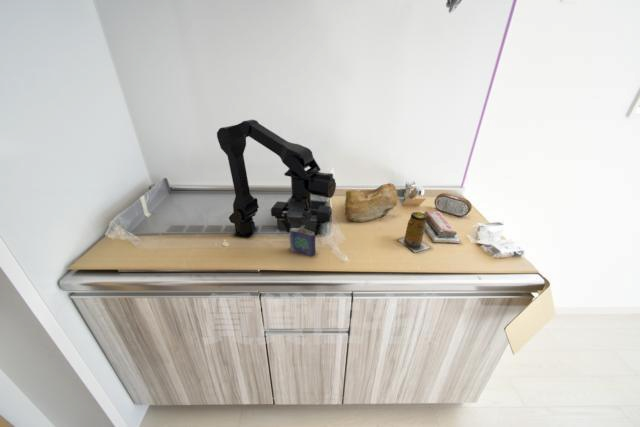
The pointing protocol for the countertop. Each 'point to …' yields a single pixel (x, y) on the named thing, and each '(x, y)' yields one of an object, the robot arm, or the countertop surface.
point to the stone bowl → (370, 203)
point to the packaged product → (440, 228)
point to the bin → (308, 224)
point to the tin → (453, 204)
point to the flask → (302, 241)
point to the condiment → (415, 232)
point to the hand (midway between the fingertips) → (302, 233)
